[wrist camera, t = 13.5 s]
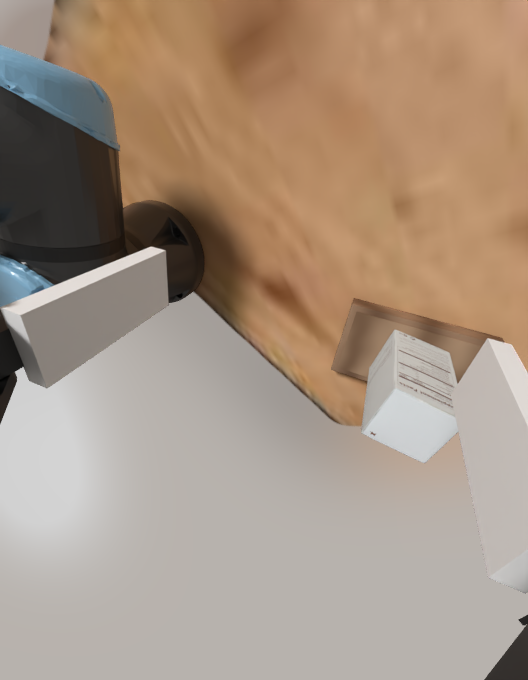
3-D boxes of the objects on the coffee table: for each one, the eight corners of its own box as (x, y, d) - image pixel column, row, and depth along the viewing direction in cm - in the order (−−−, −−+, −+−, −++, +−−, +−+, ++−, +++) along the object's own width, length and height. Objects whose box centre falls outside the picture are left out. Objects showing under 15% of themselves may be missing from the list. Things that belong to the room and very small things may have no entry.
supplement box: (418, 391, 43) (424, 466, 33) (367, 367, 44) (358, 434, 34) (452, 351, 38) (471, 424, 28) (395, 326, 39) (393, 388, 29)
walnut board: (333, 362, 48) (330, 369, 46) (354, 298, 41) (352, 304, 40) (458, 402, 44) (460, 412, 42) (502, 338, 37) (506, 347, 36)
